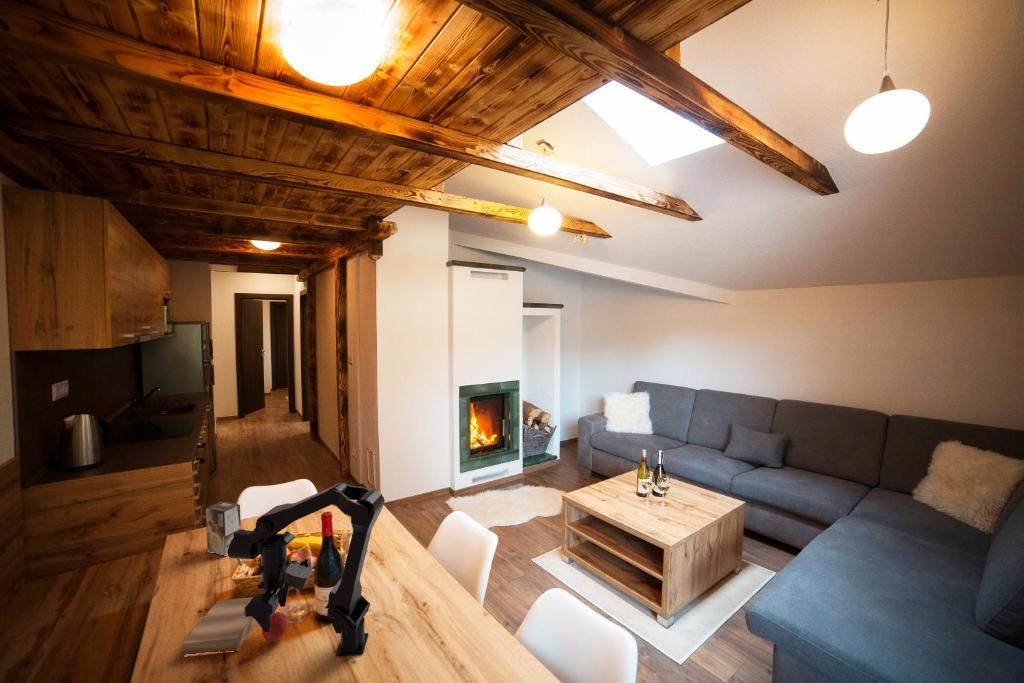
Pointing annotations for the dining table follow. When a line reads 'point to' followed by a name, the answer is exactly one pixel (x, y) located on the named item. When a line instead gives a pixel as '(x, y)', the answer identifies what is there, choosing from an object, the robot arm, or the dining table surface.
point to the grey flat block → (220, 628)
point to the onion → (276, 627)
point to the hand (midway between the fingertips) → (275, 618)
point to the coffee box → (222, 526)
